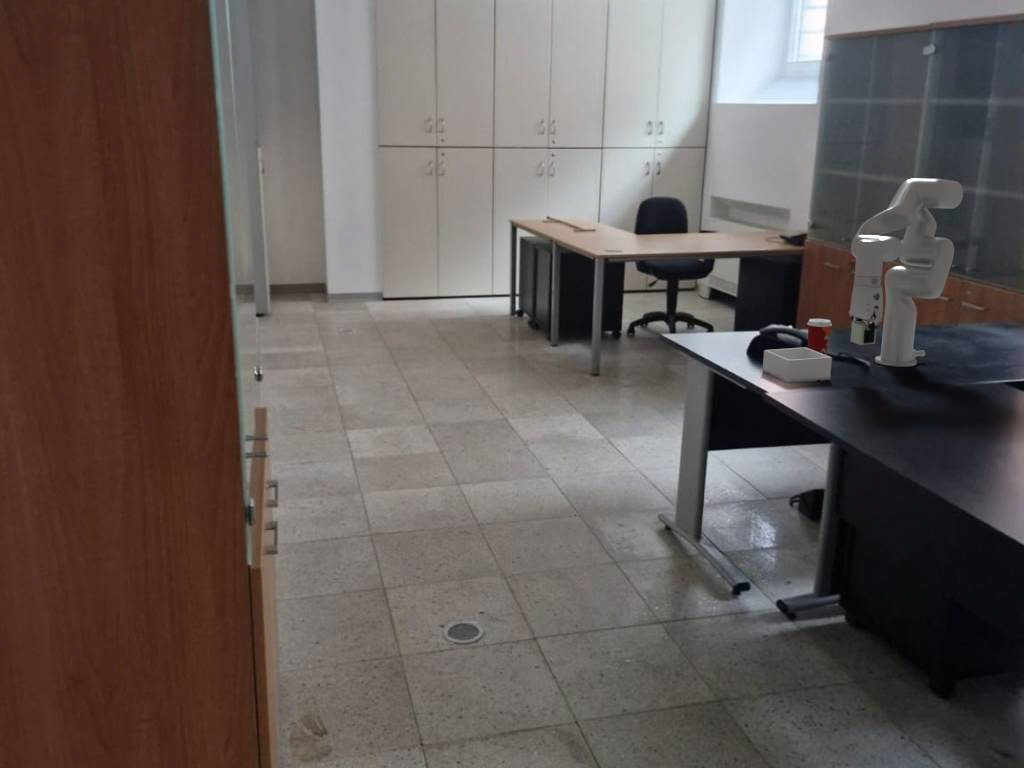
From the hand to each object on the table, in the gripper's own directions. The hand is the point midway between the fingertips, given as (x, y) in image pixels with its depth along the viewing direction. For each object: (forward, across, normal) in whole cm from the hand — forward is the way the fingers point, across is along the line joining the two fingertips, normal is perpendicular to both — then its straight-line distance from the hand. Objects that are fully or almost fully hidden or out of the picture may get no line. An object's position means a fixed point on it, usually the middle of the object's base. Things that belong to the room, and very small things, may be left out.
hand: (862, 340), depth 272 cm
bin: (+12, +8, +17) cm, 22 cm away
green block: (+1, 0, 0) cm, 1 cm away
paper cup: (+13, +22, +1) cm, 26 cm away
